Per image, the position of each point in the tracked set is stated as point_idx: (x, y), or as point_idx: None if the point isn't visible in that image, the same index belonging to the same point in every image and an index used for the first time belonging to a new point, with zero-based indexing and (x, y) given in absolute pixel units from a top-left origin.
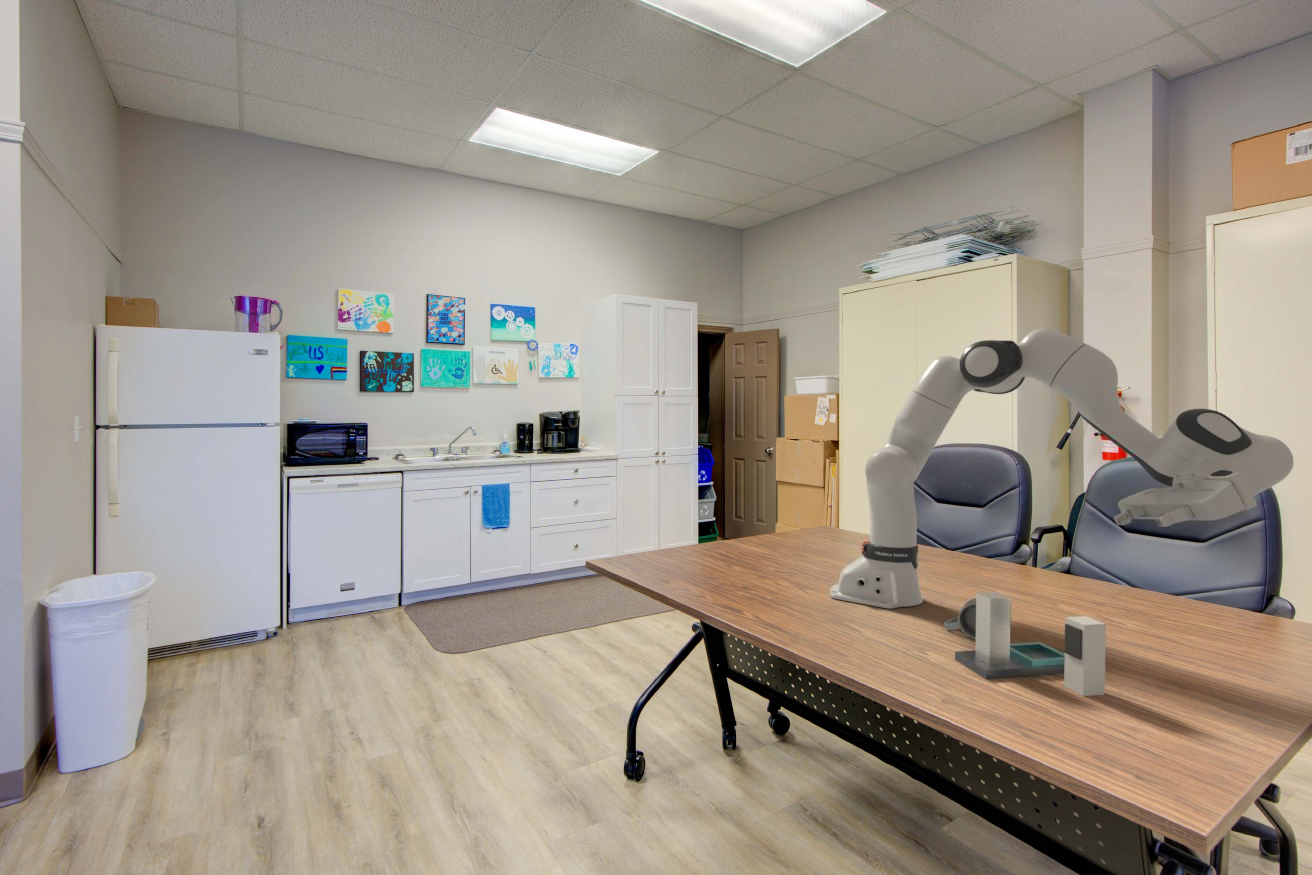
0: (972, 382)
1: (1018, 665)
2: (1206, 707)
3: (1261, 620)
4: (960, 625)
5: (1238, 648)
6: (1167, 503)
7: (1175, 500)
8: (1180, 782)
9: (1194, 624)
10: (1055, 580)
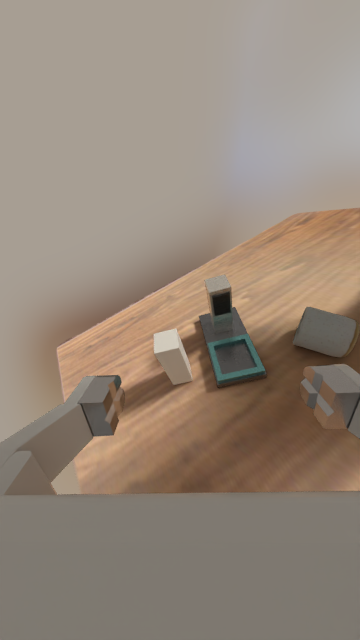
0: None
1: (210, 337)
2: (142, 466)
3: None
4: (301, 318)
5: None
6: (114, 496)
7: (22, 530)
8: (80, 361)
9: None
10: None
